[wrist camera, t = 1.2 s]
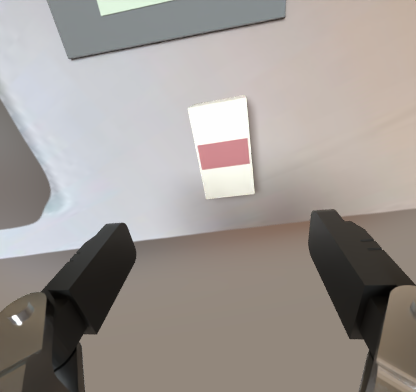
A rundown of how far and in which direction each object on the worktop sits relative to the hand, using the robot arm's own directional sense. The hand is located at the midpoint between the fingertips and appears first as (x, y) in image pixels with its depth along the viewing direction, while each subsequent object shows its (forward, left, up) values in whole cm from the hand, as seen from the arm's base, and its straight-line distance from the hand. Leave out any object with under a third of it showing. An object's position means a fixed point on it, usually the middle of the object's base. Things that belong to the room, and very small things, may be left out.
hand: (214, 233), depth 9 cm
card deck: (0, 0, -16) cm, 16 cm away
